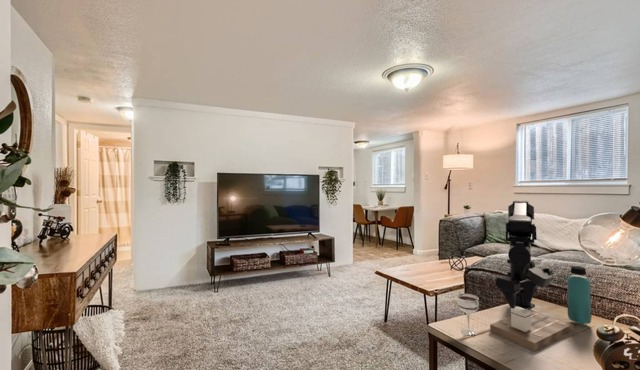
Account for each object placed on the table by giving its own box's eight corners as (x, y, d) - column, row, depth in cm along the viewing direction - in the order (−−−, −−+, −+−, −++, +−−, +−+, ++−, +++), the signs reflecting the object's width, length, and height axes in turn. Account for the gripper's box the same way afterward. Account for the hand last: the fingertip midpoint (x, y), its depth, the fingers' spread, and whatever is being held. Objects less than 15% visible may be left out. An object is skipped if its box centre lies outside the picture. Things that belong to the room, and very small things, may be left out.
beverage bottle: (596, 329, 106) (595, 270, 105) (573, 327, 107) (573, 269, 107) (584, 320, 112) (583, 264, 112) (563, 319, 114) (562, 264, 113)
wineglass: (484, 333, 105) (483, 298, 105) (471, 339, 102) (471, 302, 102) (465, 325, 111) (464, 292, 111) (453, 331, 108) (452, 296, 107)
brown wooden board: (528, 315, 117) (528, 308, 117) (573, 331, 105) (573, 323, 105) (490, 331, 107) (490, 324, 106) (534, 351, 94) (534, 342, 94)
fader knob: (517, 323, 106) (516, 306, 106) (531, 329, 102) (531, 310, 102) (510, 326, 104) (510, 308, 104) (525, 332, 100) (525, 313, 100)
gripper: (530, 268, 91) (530, 321, 91) (563, 258, 100) (564, 307, 100) (493, 259, 101) (494, 308, 101) (526, 251, 109) (527, 295, 110)
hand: (520, 304), depth 103 cm, fingers open, 9 cm apart
